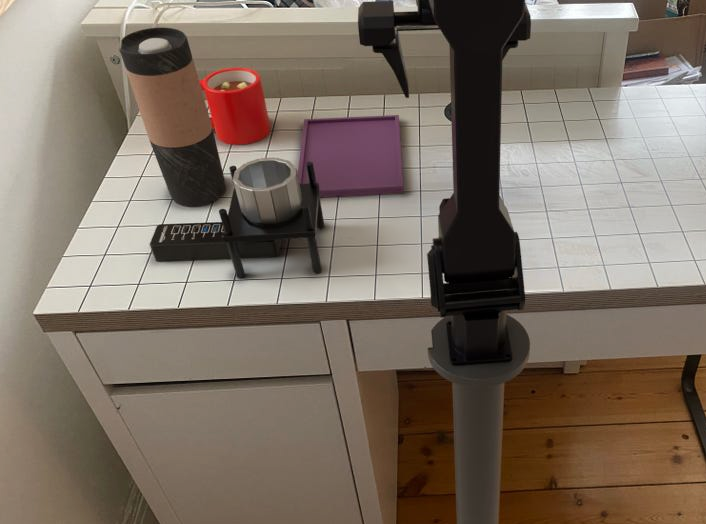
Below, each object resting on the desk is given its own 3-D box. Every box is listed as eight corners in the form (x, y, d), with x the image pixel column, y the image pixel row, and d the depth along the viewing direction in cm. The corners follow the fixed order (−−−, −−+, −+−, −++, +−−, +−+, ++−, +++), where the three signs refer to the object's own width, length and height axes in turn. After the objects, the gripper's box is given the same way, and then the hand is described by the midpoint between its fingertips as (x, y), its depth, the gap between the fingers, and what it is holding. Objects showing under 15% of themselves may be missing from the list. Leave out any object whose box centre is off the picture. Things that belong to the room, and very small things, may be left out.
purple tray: (403, 193, 100) (403, 186, 99) (296, 199, 98) (295, 191, 98) (399, 121, 113) (398, 114, 112) (305, 125, 112) (304, 119, 111)
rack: (322, 274, 88) (310, 208, 81) (235, 279, 87) (216, 214, 80) (325, 224, 95) (314, 160, 88) (245, 228, 94) (228, 164, 87)
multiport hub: (277, 256, 90) (274, 241, 88) (154, 261, 89) (148, 245, 87) (282, 234, 93) (278, 219, 91) (162, 239, 92) (157, 223, 90)
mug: (196, 117, 114) (181, 66, 108) (275, 118, 114) (265, 67, 108) (181, 144, 108) (165, 92, 102) (265, 144, 108) (253, 92, 102)
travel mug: (240, 186, 100) (201, 36, 86) (197, 214, 96) (148, 60, 82) (200, 170, 103) (155, 21, 89) (156, 196, 99) (102, 44, 84)
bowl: (300, 224, 84) (293, 188, 81) (239, 227, 84) (229, 192, 80) (304, 190, 89) (297, 156, 86) (246, 193, 89) (237, 159, 85)
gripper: (520, -75, 84) (515, 62, 95) (353, -70, 83) (367, 68, 94) (535, -42, 76) (527, 103, 88) (350, -37, 75) (366, 110, 86)
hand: (446, 94), depth 89 cm, fingers open, 9 cm apart
